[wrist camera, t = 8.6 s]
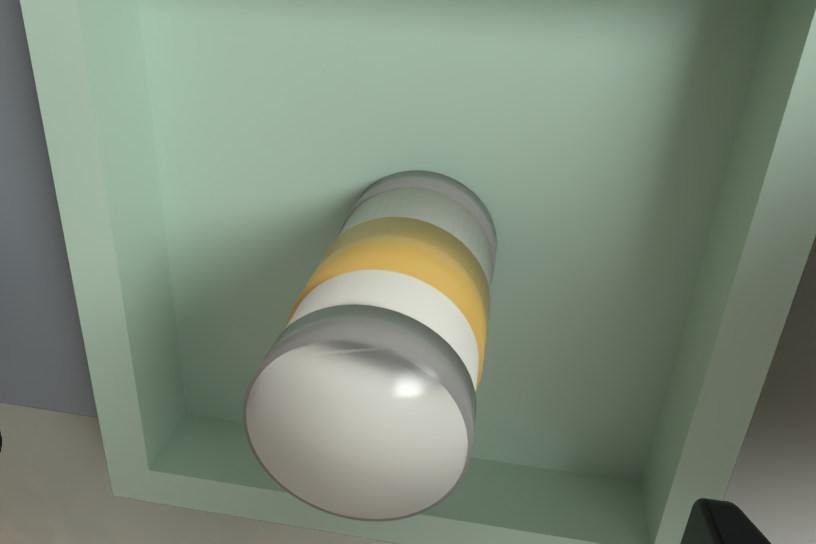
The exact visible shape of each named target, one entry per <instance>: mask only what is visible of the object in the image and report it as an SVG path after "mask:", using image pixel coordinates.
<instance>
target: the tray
mask: <svg viewBox="0 0 816 544" xmlns="http://www.w3.org/2000/svg"><path fill="white" fill-rule="evenodd" d="M20 4H21V9H22V15H23V20H24V25H25V31H26V36H27V41H28V47H29V52H30V57H31V63H32V68H33V73H34V79H35V84H36V89H37V95H38V100H39V105H40V111H41V116H42V121H43V127H44V132H45V137H46V143H47V148H48V153H49V159H50V164H51V169H52V174H53V180H54V185H55V190H56V196H57V201H58V206H59V212H60V217H61V222H62V228H63V233H64V238H65V244H66V249H67V254H68V260H69V265H70V270H71V276H72V281H73V286H74V292H75V297H76V302H77V308H78V313H79V318H80V324H81V329H82V334H83V340H84V345H85V350H86V355H87V361H88V366H89V371H90V377H91V382H92V387H93V393H94V398H95V403H96V409H97V414H98V419H99V425H100V430H101V435H102V441H103V446H104V451H105V457H106V462H107V467H108V473H109V478H110V483H111V489H112V494H113V496H116V497H122V498H128V499H134V500H140V501H146V502H152V503H158V504H163V505H169V506H175V507H181V508H187V509H193V510H199V511H205V512H211V513H217V514H223V515H229V516H235V517H241V518H247V519H253V520H259V521H265V522H271V523H277V524H283V525H289V526H295V527H301V528H307V529H313V530H319V531H325V532H331V533H337V534H343V535H349V536H355V537H361V538H367V539H373V540H379V541H385V542H391V543H397V544H680V543H681V540H682V537H683V534H684V531H685V528H686V525H687V521H688V518H689V515H690V512H691V509H692V506H693V504H694V503H695V501H696V500H697V499H700V498H708V499H715V500H721V501H723V499H724V496H725V493H726V490H727V487H728V484H729V482H730V479H731V476H732V473H733V470H734V467H735V464H736V462H737V459H738V456H739V453H740V450H741V447H742V444H743V442H744V439H745V436H746V433H747V430H748V427H749V424H750V422H751V419H752V416H753V413H754V410H755V407H756V404H757V402H758V399H759V396H760V393H761V390H762V387H763V385H764V382H765V379H766V376H767V373H768V370H769V367H770V365H771V362H772V359H773V356H774V353H775V350H776V347H777V345H778V342H779V339H780V336H781V333H782V330H783V327H784V325H785V322H786V319H787V316H788V313H789V310H790V307H791V305H792V302H793V299H794V296H795V293H796V290H797V288H798V285H799V282H800V279H801V276H802V273H803V270H804V268H805V265H806V262H807V259H808V256H809V253H810V250H811V248H812V245H813V242H814V239H815V236H816V0H20ZM410 170H424V171H431V172H436V173H440V174H443V175H446V176H448V177H451V178H453V179H455V180H457V181H459V182H460V183H462V184H464V185H465V186H466V187H468V188H469V189H470V190H471V191H473V192H474V193H475V194H476V195H477V196H478V197H479V198H480V200H481V201H482V202H483V204H484V205H485V206H486V208H487V210H488V212H489V213H490V215H491V218H492V220H493V223H494V226H495V230H496V236H497V252H496V260H495V268H494V274H493V279H492V282H491V284H490V287H489V290H490V313H489V321H488V329H487V337H486V345H485V353H484V362H483V369H482V374H481V379H480V382H479V385H478V387H477V390H476V392H475V394H476V402H477V407H476V420H475V428H474V436H473V444H472V452H471V457H470V462H469V466H468V468H467V471H466V473H465V476H464V478H463V479H462V481H461V482H460V484H459V486H458V487H457V488H456V489H455V490H454V491H453V493H452V494H451V495H450V496H449V497H447V498H446V499H445V500H444V501H443V502H441V503H440V504H438V505H437V506H435V507H433V508H432V509H430V510H428V511H426V512H423V513H421V514H419V515H415V516H412V517H409V518H405V519H400V520H395V521H383V522H371V521H359V520H351V519H347V518H342V517H338V516H335V515H332V514H328V513H325V512H323V511H320V510H318V509H316V508H313V507H311V506H309V505H307V504H306V503H304V502H302V501H300V500H298V499H297V498H295V497H294V496H292V495H291V494H289V493H288V492H287V491H285V490H284V489H283V488H282V487H280V486H279V485H278V484H277V483H276V482H275V481H274V480H273V479H272V478H271V477H270V476H269V475H268V474H267V473H266V471H265V470H264V469H263V468H262V466H261V465H260V464H259V462H258V461H257V459H256V457H255V456H254V454H253V452H252V450H251V448H250V446H249V443H248V441H247V437H246V434H245V431H244V424H243V404H244V398H245V394H246V391H247V389H248V386H249V384H250V382H251V380H252V379H253V377H254V375H255V373H256V372H257V370H258V368H259V366H260V365H261V363H262V361H263V360H264V358H265V356H266V354H267V353H268V351H269V349H270V348H271V346H272V344H273V343H274V341H275V340H276V338H277V337H278V336H279V335H280V333H281V332H282V331H283V330H284V329H286V326H287V321H288V318H289V316H290V313H291V311H292V309H293V307H294V305H295V304H296V302H297V300H298V298H299V297H300V295H301V293H302V292H303V290H304V288H305V286H306V285H307V283H308V281H309V280H310V278H311V276H312V275H313V273H314V271H315V269H316V268H317V266H318V264H319V263H320V261H321V259H322V257H323V256H324V254H325V252H326V251H327V249H328V248H329V247H330V245H331V244H332V243H333V242H334V241H335V240H336V239H337V238H338V237H339V233H340V230H341V227H342V225H343V223H344V221H345V219H346V218H347V216H348V214H349V212H350V211H351V209H352V207H353V206H354V204H355V202H356V200H357V199H358V198H359V196H360V195H361V194H362V193H363V192H364V191H365V190H366V189H367V188H368V187H369V186H370V185H372V184H373V183H375V182H376V181H378V180H380V179H381V178H383V177H385V176H388V175H391V174H394V173H397V172H402V171H410Z"/></svg>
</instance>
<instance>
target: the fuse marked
mask: <svg viewBox="0 0 816 544" xmlns="http://www.w3.org/2000/svg"><path fill="white" fill-rule="evenodd" d="M496 252H497V236H496V230H495V226H494V223H493V220H492V218H491V215H490V213H489V212H488V210H487V208H486V206H485V205H484V204H483V202H482V201H481V200H480V198H479V197H478V196H477V195H476V194H475V193H474V192H473V191H471V190H470V189H469V188H468V187H466V186H465V185H464V184H462V183H460V182H459V181H457V180H455V179H453V178H451V177H448V176H446V175H443V174H440V173H436V172H431V171H424V170H410V171H402V172H397V173H394V174H391V175H388V176H385V177H383V178H381V179H380V180H378V181H376V182H375V183H373V184H372V185H370V186H369V187H368V188H367V189H366V190H365V191H364V192H363V193H362V194H361V195H360V196H359V198H358V199H357V200H356V202H355V204H354V206H353V207H352V209H351V211H350V212H349V214H348V216H347V218H346V219H345V221H344V223H343V225H342V227H341V230H340V233H339V237H338V238H337V239H336V240H335V241H334V242H333V243H332V244H331V245H330V247H329V248H328V249H327V251H326V252H325V254H324V256H323V257H322V259H321V261H320V263H319V264H318V266H317V268H316V269H315V271H314V273H313V275H312V276H311V278H310V280H309V281H308V283H307V285H306V286H305V288H304V290H303V292H302V293H301V295H300V297H299V298H298V300H297V302H296V304H295V305H294V307H293V309H292V311H291V313H290V316H289V318H288V321H287V326H286V329H284V330H283V331H282V332H281V333H280V335H279V336H278V337H277V338H276V340H275V341H274V343H273V344H272V346H271V348H270V349H269V351H268V353H267V354H266V356H265V358H264V360H263V361H262V363H261V365H260V366H259V368H258V370H257V372H256V373H255V375H254V377H253V379H252V380H251V382H250V384H249V386H248V389H247V391H246V394H245V398H244V404H243V424H244V431H245V434H246V437H247V441H248V443H249V446H250V448H251V450H252V452H253V454H254V456H255V457H256V459H257V461H258V462H259V464H260V465H261V466H262V468H263V469H264V470H265V471H266V473H267V474H268V475H269V476H270V477H271V478H272V479H273V480H274V481H275V482H276V483H277V484H278V485H279V486H280V487H282V488H283V489H284V490H285V491H287V492H288V493H289V494H291V495H292V496H294V497H295V498H297V499H298V500H300V501H302V502H304V503H306V504H307V505H309V506H311V507H313V508H316V509H318V510H320V511H323V512H325V513H328V514H332V515H335V516H338V517H342V518H347V519H351V520H359V521H371V522H383V521H395V520H400V519H405V518H409V517H412V516H415V515H419V514H421V513H423V512H426V511H428V510H430V509H432V508H433V507H435V506H437V505H438V504H440V503H441V502H443V501H444V500H445V499H446V498H447V497H449V496H450V495H451V494H452V493H453V491H454V490H455V489H456V488H457V487H458V486H459V484H460V482H461V481H462V479H463V478H464V476H465V473H466V471H467V468H468V466H469V462H470V457H471V452H472V444H473V436H474V428H475V420H476V407H477V402H476V394H475V392H476V390H477V387H478V385H479V382H480V379H481V374H482V369H483V362H484V353H485V345H486V337H487V329H488V321H489V313H490V290H489V287H490V284H491V282H492V279H493V274H494V268H495V260H496Z"/></svg>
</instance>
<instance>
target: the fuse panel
mask: <svg viewBox="0 0 816 544" xmlns="http://www.w3.org/2000/svg"><path fill="white" fill-rule="evenodd" d="M0 403H7V404H13V405H20V406H26V407H32V408H39V409H45V410H52V411H58V412H65V413H71V414H78V415H84V416H91V417H97V418H98V414H97V409H96V403H95V398H94V393H93V387H92V382H91V377H90V371H89V366H88V361H87V355H86V350H85V345H84V340H83V334H82V329H81V324H80V318H79V313H78V308H77V302H76V297H75V292H74V286H73V281H72V276H71V270H70V265H69V260H68V254H67V249H66V244H65V238H64V233H63V228H62V222H61V217H60V212H59V206H58V201H57V196H56V190H55V185H54V180H53V174H52V169H51V164H50V159H49V153H48V148H47V143H46V137H45V132H44V127H43V121H42V116H41V111H40V105H39V100H38V95H37V89H36V84H35V79H34V73H33V68H32V63H31V57H30V52H29V47H28V41H27V36H26V31H25V25H24V20H23V15H22V9H21V4H20V0H0Z"/></svg>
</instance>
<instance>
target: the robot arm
mask: <svg viewBox="0 0 816 544" xmlns="http://www.w3.org/2000/svg"><path fill="white" fill-rule="evenodd" d="M1 447H2V436H1V432H0V451H1ZM680 544H771V543H770V542H769V541H768V539H767V538H766V537H765V536H764V535H763V534H762V533H761V532H760V531H759V530H758V528H757V527H756V526H755V525H754V524H753V523H752V522H751V521H750V520H749V518H748V517H747V516H746V515H745V514H744V513H743V512H742V511H741V510H740V509H739V508H738V507H737V506H736V505H735V504H733V503H731V502H728V501H721V500H715V499H708V498H700V499H697V500H696V501H695V503H694V504H693V506H692V509H691V512H690V515H689V518H688V521H687V525H686V528H685V531H684V534H683V537H682V540H681V543H680Z"/></svg>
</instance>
